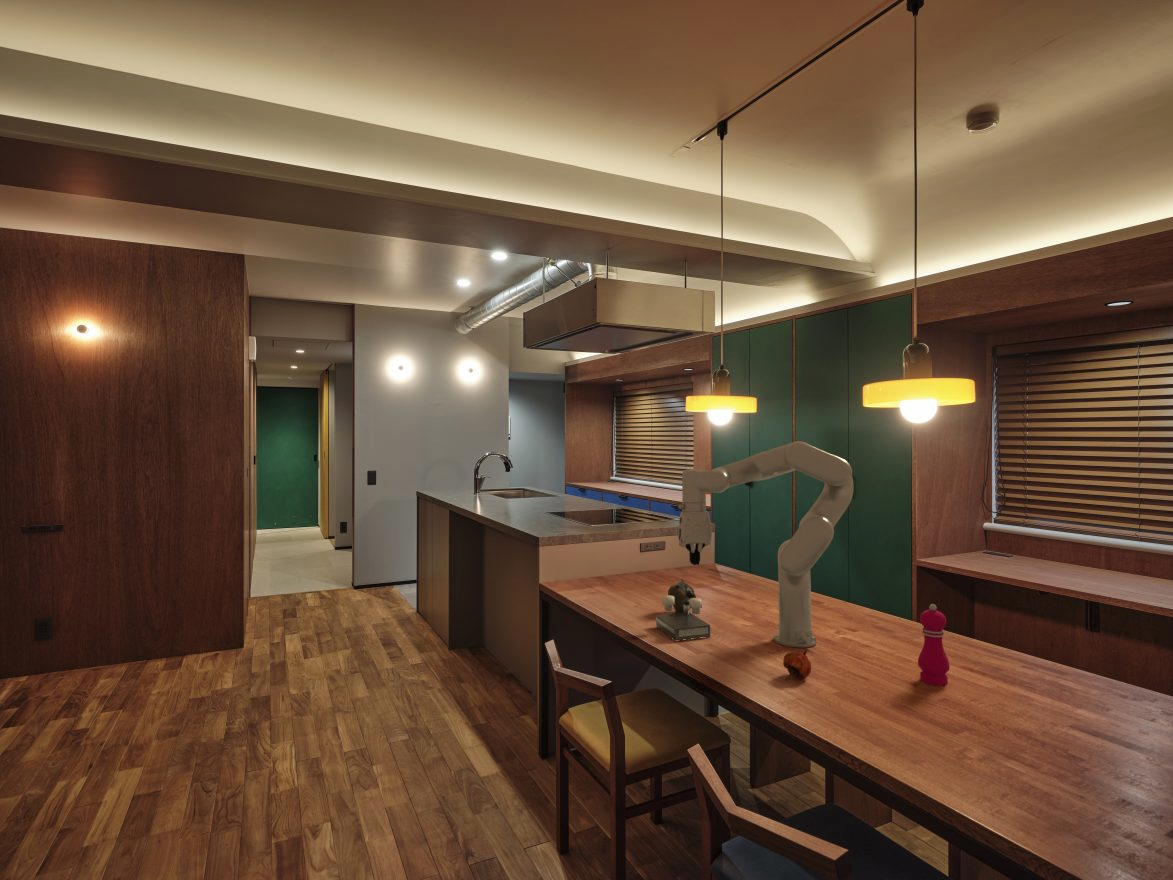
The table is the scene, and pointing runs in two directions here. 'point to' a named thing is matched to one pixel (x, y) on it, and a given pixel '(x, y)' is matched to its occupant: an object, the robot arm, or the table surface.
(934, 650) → the pepper mill
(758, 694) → the table surface
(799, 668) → the red round fruit
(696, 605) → the knob
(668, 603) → the knob
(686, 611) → the dark brown round knob
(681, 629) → the mount
